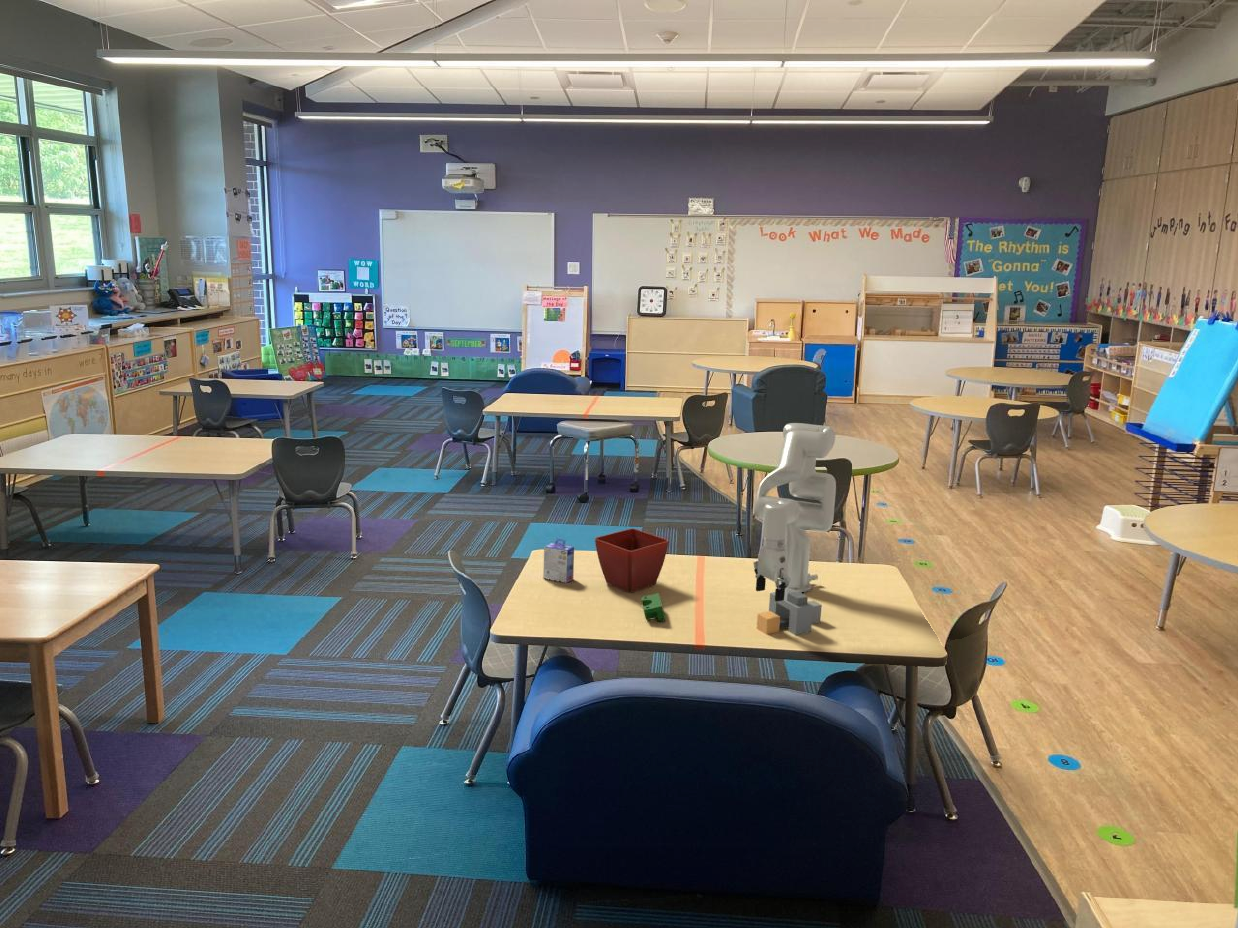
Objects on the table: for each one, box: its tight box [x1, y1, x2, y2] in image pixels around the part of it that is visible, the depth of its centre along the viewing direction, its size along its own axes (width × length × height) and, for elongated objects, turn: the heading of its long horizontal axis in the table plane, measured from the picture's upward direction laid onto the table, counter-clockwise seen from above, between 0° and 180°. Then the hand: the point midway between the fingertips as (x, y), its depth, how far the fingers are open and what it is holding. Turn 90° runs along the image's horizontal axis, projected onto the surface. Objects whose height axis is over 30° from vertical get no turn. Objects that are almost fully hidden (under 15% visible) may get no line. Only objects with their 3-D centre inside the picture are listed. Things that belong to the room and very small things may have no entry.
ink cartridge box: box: [542, 538, 575, 584], centre depth 331 cm, size 10×6×14 cm, turn 65°
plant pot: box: [594, 527, 670, 593], centre depth 328 cm, size 19×19×17 cm
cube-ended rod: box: [756, 600, 822, 635], centre depth 297 cm, size 22×5×6 cm, turn 118°
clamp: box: [641, 592, 666, 623], centre depth 302 cm, size 12×6×9 cm, turn 177°
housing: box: [768, 591, 813, 636], centre depth 297 cm, size 6×14×12 cm, turn 28°
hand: (769, 595), depth 291 cm, fingers open, 9 cm apart
